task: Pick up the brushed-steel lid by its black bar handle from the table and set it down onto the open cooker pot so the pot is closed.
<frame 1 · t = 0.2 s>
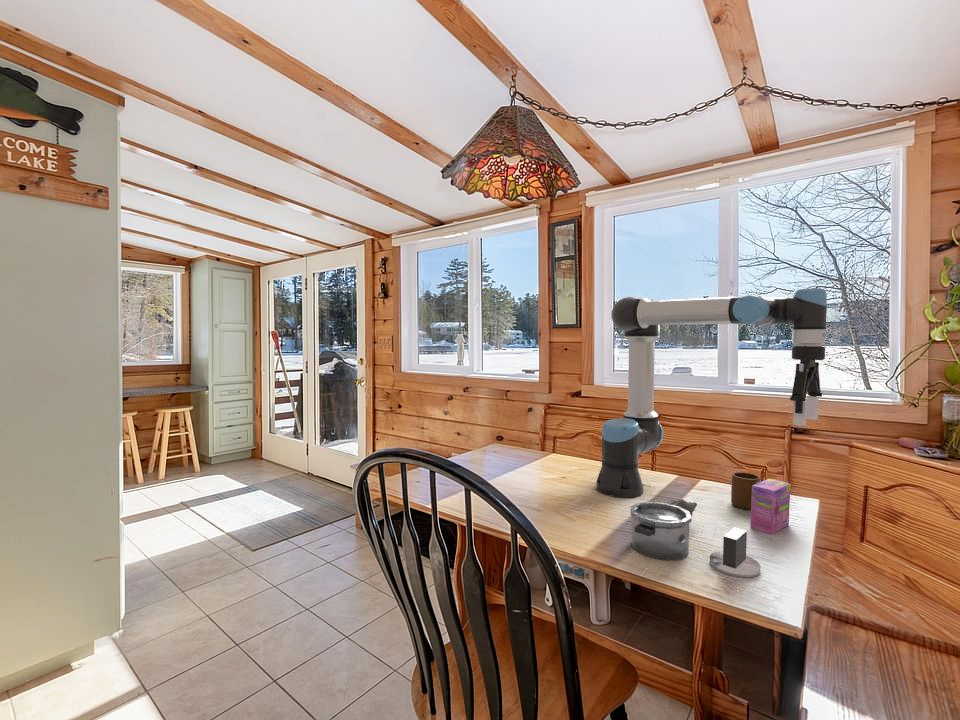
hand: (805, 422, 131), 28 cm above the table, fingers open, 13 cm apart
fossil: (677, 525, 130), on the table
lid: (734, 567, 106), on the table
mug: (750, 509, 142), on the table
box: (769, 527, 129), on the table
pot: (659, 547, 116), on the table
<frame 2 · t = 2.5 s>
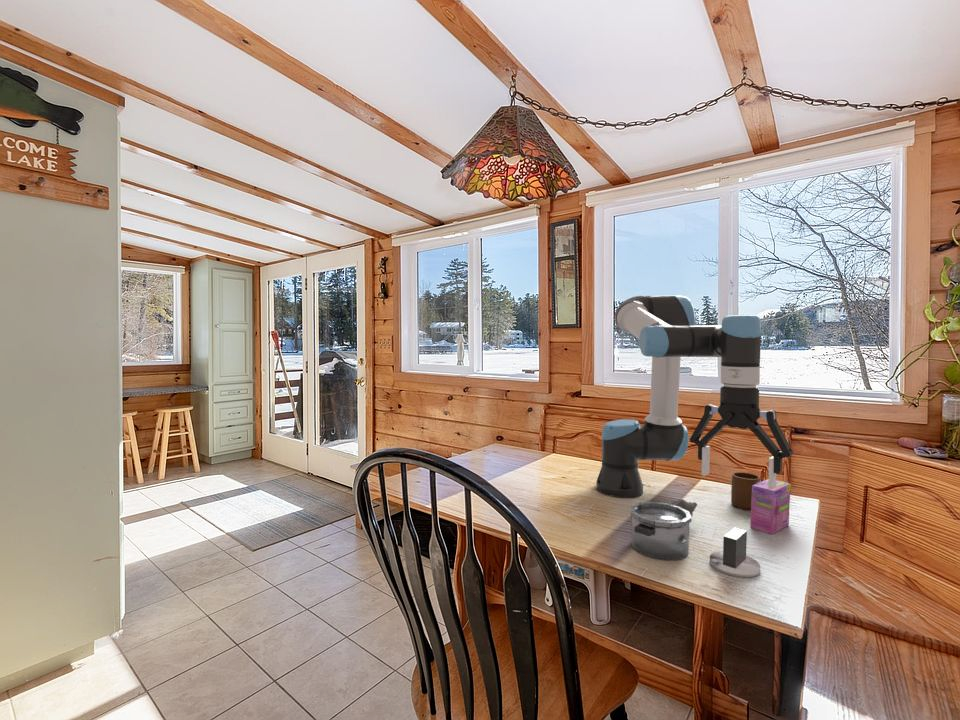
hand: (737, 481, 105), 20 cm above the table, fingers open, 13 cm apart
nothing on the table moved.
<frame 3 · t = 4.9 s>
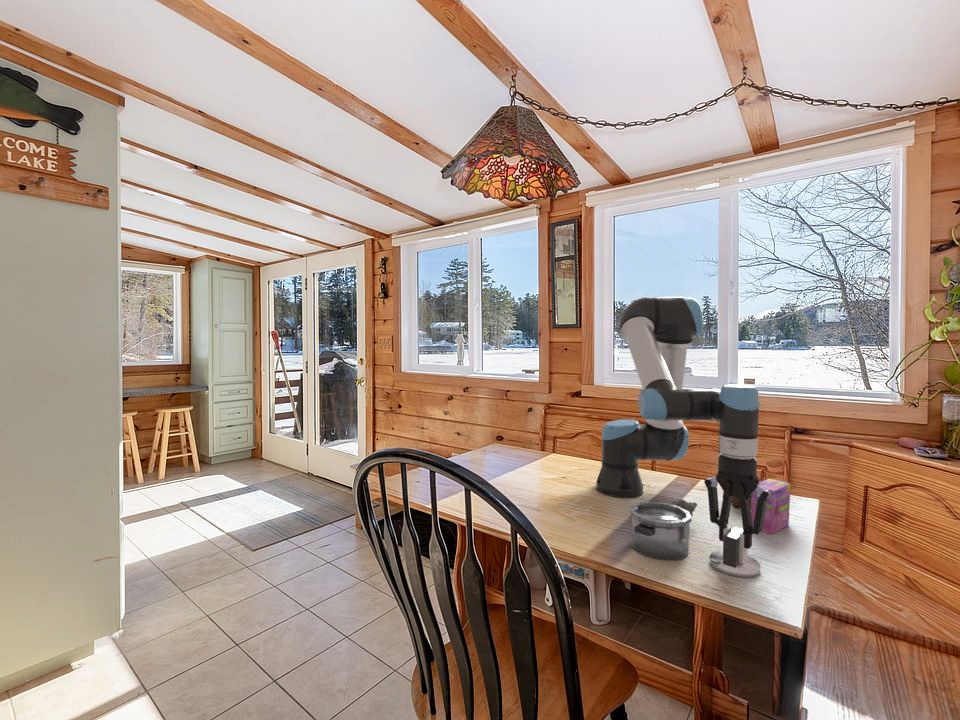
hand: (734, 558, 106), 2 cm above the table, fingers closed on lid, 3 cm apart
lid: (734, 566, 106), on the table, touching gripper
everything else where it was.
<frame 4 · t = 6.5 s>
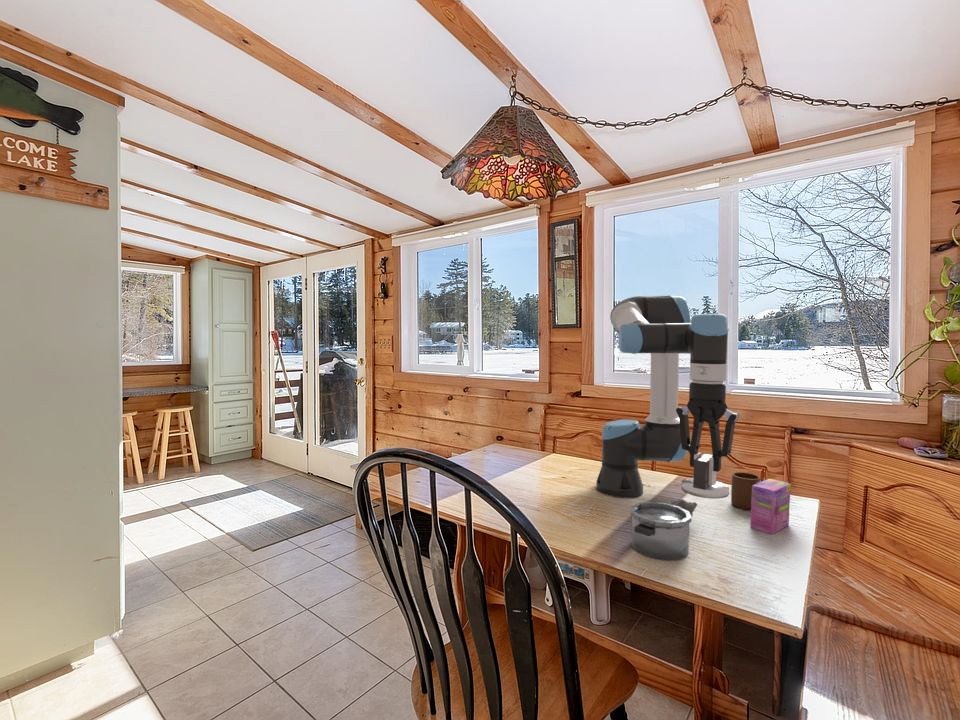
hand: (704, 482, 110), 18 cm above the table, fingers closed on lid, 3 cm apart
lid: (704, 490, 110), point 16 cm above the table, touching gripper
everything else where it was.
when the fingers open (11 cm above the table, at t = 8.5 s): lid drops 2 cm, resting on pot.
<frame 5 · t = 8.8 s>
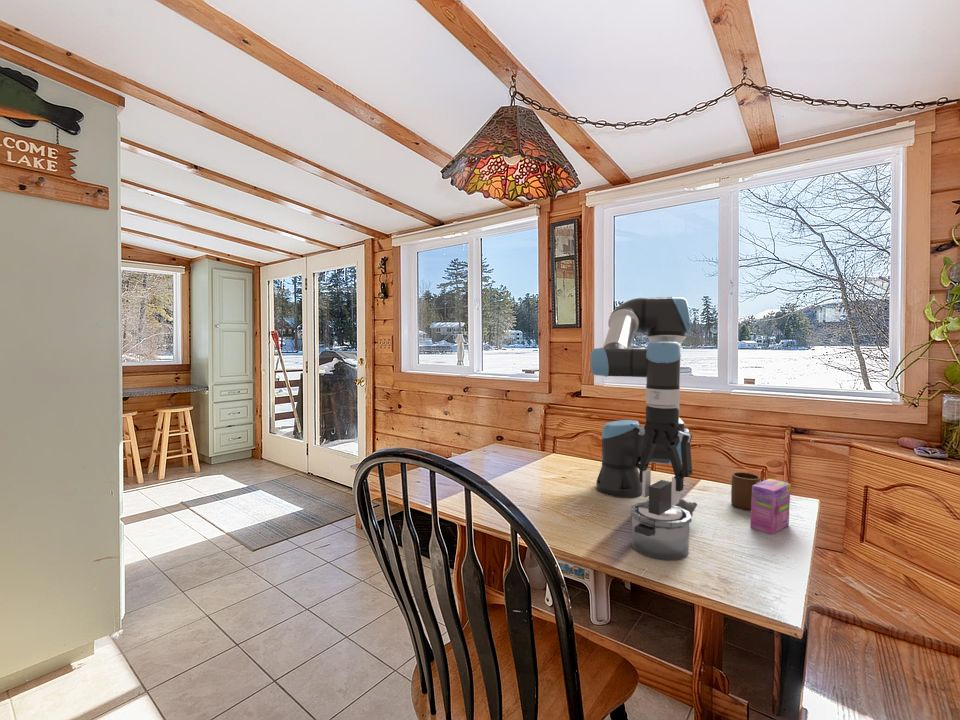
hand: (660, 499, 115), 12 cm above the table, fingers open, 7 cm apart
lid: (660, 515, 115), point 8 cm above the table, touching pot
everything else where it was.
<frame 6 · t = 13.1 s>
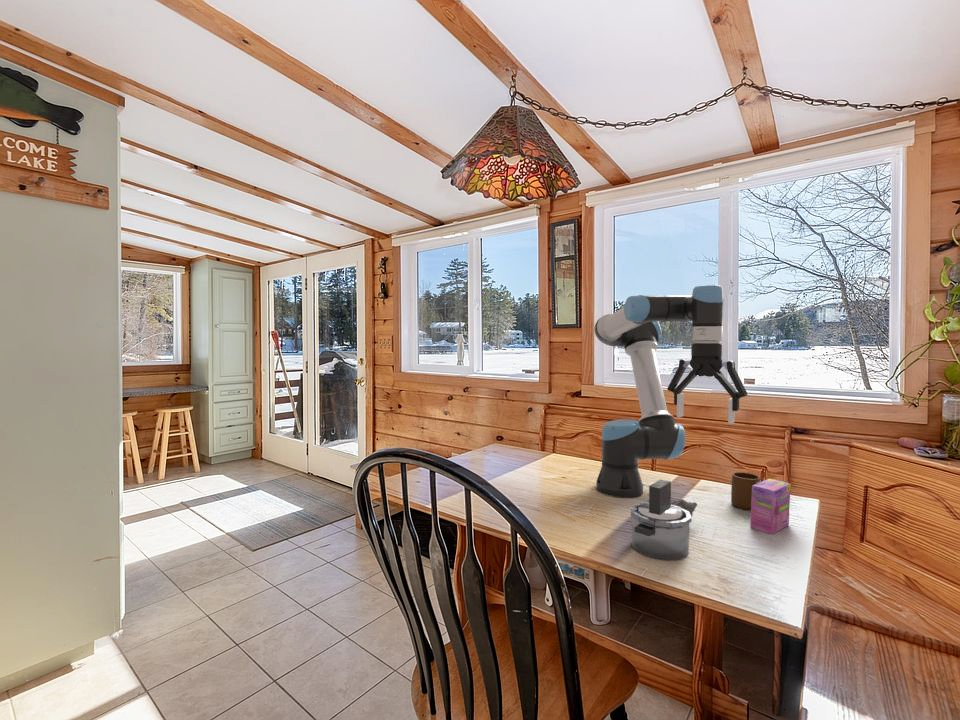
hand: (704, 419, 130), 29 cm above the table, fingers open, 13 cm apart
nothing on the table moved.
at the end: lid 0.0 cm off-centre on the pot, point 8.1 cm above the pot's base; lid tilted 1°; the gripper is holding nothing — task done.
